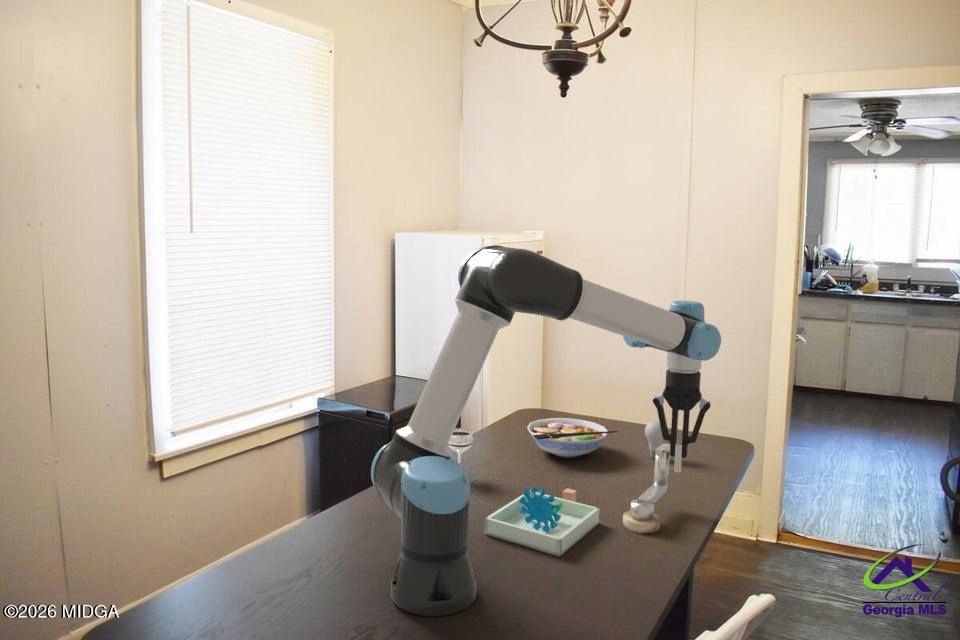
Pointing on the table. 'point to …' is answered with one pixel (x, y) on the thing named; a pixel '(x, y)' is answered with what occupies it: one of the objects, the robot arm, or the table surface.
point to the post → (569, 495)
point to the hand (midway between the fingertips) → (677, 470)
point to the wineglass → (461, 441)
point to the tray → (556, 540)
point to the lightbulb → (653, 436)
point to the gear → (540, 509)
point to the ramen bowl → (567, 436)
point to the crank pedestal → (641, 524)
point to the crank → (653, 486)
